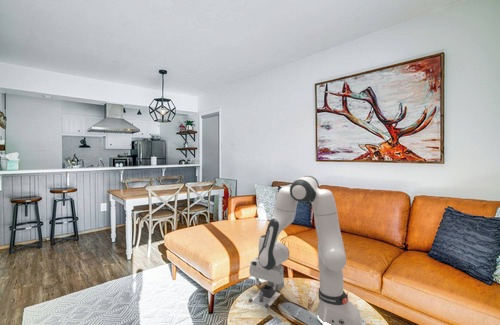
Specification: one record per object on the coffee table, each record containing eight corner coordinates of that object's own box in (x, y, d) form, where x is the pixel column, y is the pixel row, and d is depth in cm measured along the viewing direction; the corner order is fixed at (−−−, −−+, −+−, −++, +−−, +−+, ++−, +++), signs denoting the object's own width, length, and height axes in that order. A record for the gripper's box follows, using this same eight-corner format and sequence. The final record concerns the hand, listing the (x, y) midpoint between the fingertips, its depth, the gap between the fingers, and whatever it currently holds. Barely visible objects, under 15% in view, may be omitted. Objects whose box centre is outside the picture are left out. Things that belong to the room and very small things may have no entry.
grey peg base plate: (281, 296, 144) (280, 285, 144) (267, 311, 131) (267, 299, 130) (262, 290, 151) (262, 279, 150) (248, 304, 137) (247, 292, 137)
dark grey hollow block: (275, 293, 144) (274, 286, 144) (270, 298, 139) (270, 291, 139) (265, 290, 148) (265, 283, 147) (260, 295, 143) (260, 288, 142)
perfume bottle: (278, 293, 147) (277, 263, 146) (268, 290, 151) (267, 260, 150) (283, 288, 152) (283, 259, 151) (274, 285, 156) (273, 256, 155)
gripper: (285, 265, 140) (285, 289, 141) (253, 257, 150) (253, 279, 151) (280, 270, 134) (280, 295, 135) (248, 261, 145) (247, 284, 146)
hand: (266, 287), depth 143 cm, fingers open, 8 cm apart
